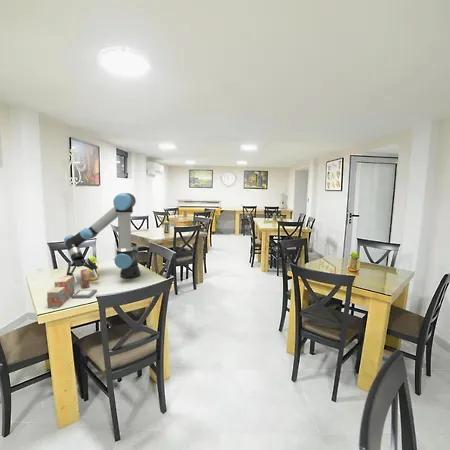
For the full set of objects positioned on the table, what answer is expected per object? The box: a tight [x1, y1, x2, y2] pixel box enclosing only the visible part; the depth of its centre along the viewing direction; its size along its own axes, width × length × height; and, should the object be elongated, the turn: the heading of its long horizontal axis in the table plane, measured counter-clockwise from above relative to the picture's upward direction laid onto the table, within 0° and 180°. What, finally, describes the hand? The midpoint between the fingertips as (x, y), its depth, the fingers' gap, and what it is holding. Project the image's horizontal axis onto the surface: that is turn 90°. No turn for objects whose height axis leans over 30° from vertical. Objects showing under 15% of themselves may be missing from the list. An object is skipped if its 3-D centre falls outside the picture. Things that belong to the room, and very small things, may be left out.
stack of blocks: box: [46, 275, 75, 309], centre depth 166 cm, size 21×6×12 cm, turn 8°
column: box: [80, 268, 90, 290], centre depth 188 cm, size 5×5×12 cm
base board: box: [71, 289, 98, 300], centre depth 175 cm, size 11×11×2 cm
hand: (86, 280), depth 187 cm, fingers open, 13 cm apart
